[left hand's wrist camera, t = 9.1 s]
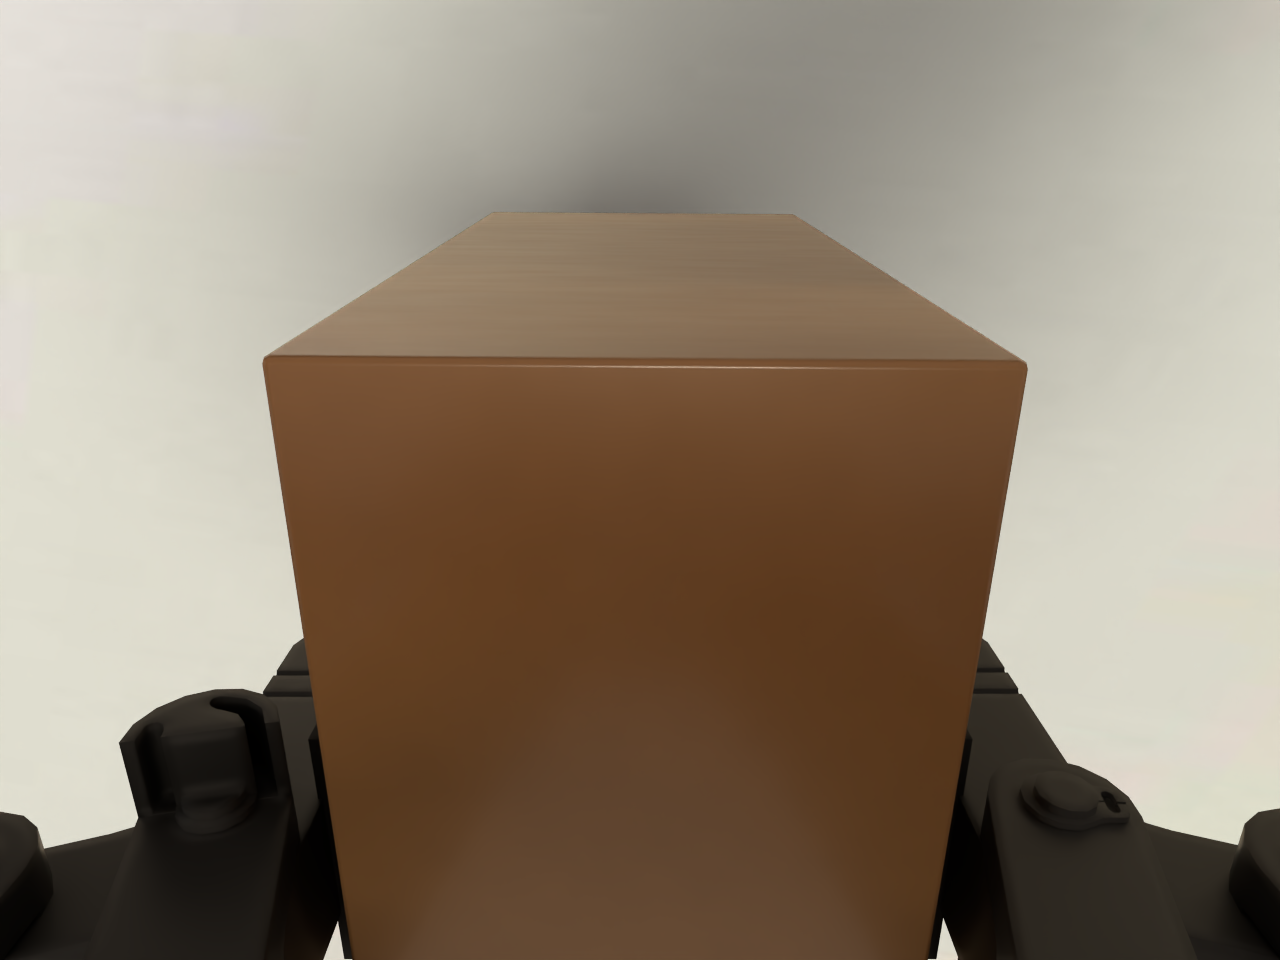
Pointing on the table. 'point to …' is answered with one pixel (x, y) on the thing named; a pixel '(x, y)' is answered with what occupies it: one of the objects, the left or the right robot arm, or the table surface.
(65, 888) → the left robot arm
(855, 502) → the beam
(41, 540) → the table surface
